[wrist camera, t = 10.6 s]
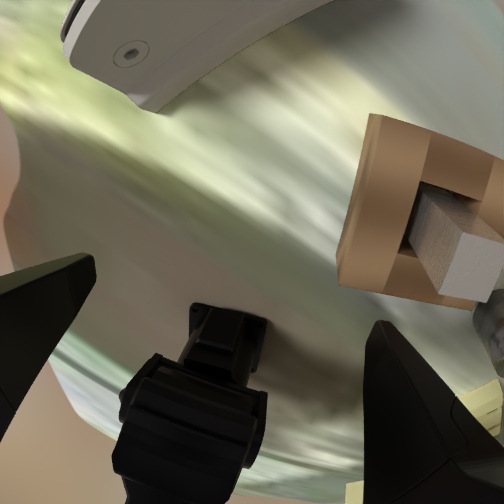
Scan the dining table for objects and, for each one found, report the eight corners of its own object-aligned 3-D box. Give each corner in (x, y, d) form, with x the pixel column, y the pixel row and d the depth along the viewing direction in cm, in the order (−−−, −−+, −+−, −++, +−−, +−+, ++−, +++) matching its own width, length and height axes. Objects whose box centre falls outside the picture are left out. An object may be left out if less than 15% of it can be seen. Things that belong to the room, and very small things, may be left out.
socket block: (453, 280, 21) (471, 310, 17) (335, 254, 22) (338, 285, 18) (496, 158, 16) (526, 171, 13) (369, 113, 17) (382, 115, 14)
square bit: (433, 229, 20) (486, 302, 12) (396, 220, 20) (438, 293, 12) (445, 189, 18) (511, 246, 10) (407, 178, 18) (462, 232, 11)
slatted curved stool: (346, 391, 28) (339, 565, 12) (495, 328, 22) (561, 492, 6) (405, 480, 37) (406, 571, 21) (494, 446, 30) (510, 537, 15)
